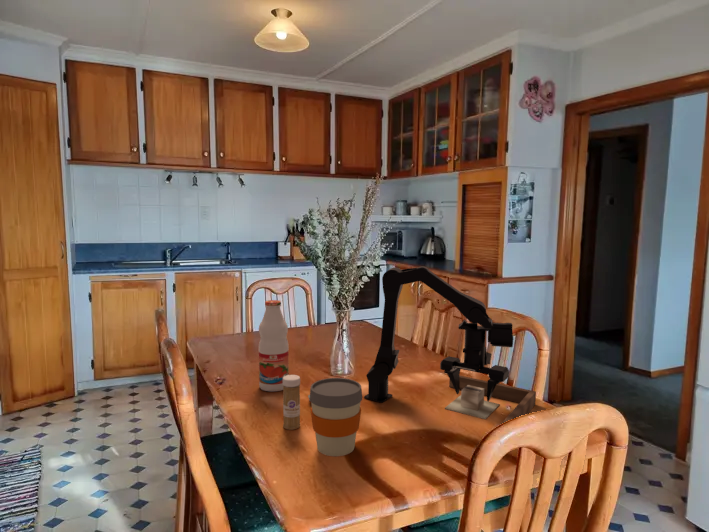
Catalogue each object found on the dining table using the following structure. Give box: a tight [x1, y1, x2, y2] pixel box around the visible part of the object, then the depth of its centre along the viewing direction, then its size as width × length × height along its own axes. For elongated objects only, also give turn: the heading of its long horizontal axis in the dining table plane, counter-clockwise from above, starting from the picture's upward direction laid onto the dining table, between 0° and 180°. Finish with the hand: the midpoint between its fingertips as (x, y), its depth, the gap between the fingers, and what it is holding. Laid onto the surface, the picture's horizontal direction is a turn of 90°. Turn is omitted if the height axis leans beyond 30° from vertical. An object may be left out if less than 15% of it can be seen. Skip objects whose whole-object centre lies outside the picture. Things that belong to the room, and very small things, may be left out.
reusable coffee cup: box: [309, 377, 363, 457], centre depth 113 cm, size 13×12×15 cm
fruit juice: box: [258, 299, 290, 393], centre depth 152 cm, size 9×9×28 cm
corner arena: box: [444, 374, 537, 425], centre depth 136 cm, size 28×26×4 cm
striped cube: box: [460, 385, 485, 411], centre depth 138 cm, size 5×5×5 cm
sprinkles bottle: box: [282, 374, 301, 431], centre depth 124 cm, size 5×5×13 cm
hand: (472, 397), depth 138 cm, fingers open, 9 cm apart
